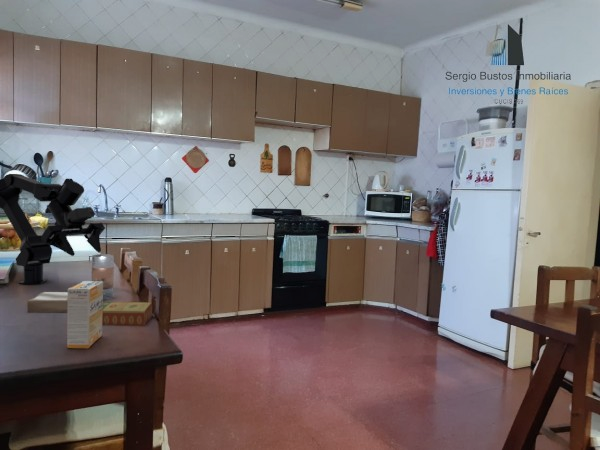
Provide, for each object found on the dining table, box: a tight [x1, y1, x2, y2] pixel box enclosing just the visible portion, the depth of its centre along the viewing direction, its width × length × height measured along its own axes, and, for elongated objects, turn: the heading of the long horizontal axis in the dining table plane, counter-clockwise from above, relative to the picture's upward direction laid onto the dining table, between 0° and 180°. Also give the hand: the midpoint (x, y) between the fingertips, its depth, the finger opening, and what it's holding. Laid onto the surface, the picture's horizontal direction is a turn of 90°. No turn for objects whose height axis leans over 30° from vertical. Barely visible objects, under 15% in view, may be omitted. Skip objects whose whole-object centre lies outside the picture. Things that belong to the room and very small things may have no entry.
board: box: [26, 291, 68, 313], centre depth 123 cm, size 10×10×3 cm
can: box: [91, 253, 115, 301], centre depth 135 cm, size 6×6×13 cm
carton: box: [102, 301, 153, 327], centre depth 115 cm, size 8×16×4 cm, turn 96°
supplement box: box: [66, 280, 104, 349], centre depth 98 cm, size 8×5×13 cm, turn 5°
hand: (87, 253), depth 137 cm, fingers open, 9 cm apart
